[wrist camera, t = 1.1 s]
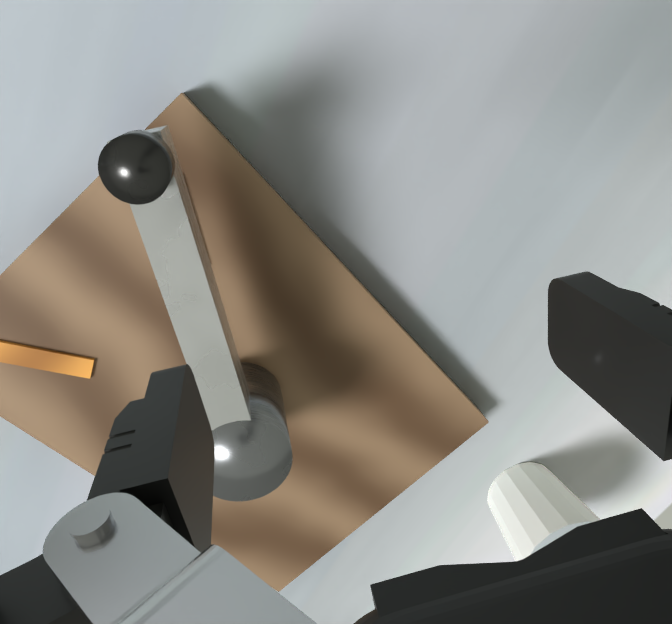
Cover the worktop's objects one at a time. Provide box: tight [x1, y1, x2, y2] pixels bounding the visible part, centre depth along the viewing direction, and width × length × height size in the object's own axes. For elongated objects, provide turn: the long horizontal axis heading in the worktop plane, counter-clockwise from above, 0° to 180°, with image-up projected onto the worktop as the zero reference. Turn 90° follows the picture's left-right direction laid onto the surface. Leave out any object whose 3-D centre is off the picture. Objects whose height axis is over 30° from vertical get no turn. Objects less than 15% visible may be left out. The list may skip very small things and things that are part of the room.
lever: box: [98, 125, 293, 502], centre depth 26 cm, size 19×5×8 cm, turn 11°
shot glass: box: [487, 462, 600, 561], centre depth 39 cm, size 7×7×7 cm
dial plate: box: [0, 93, 488, 592], centre depth 33 cm, size 20×28×2 cm
